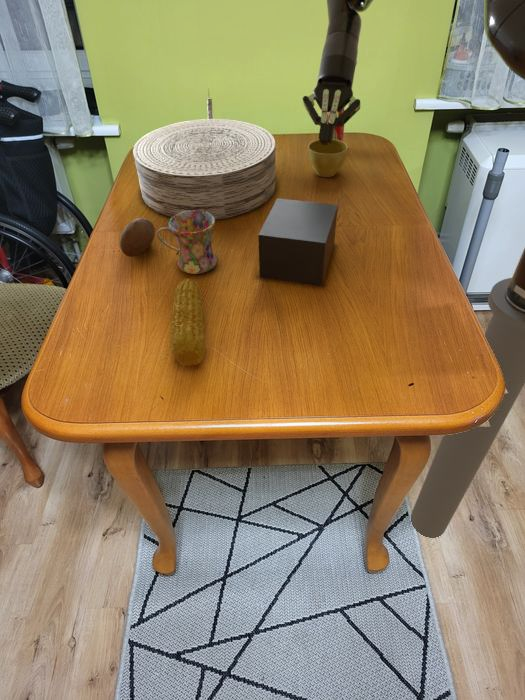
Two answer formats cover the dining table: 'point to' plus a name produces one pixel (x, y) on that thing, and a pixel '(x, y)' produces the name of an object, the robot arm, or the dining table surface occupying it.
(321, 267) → the dark grey cube
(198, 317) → the food
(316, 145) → the flower pot
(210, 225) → the mug
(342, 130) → the soda can
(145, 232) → the potato
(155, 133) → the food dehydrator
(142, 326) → the dining table surface
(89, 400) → the dining table surface
